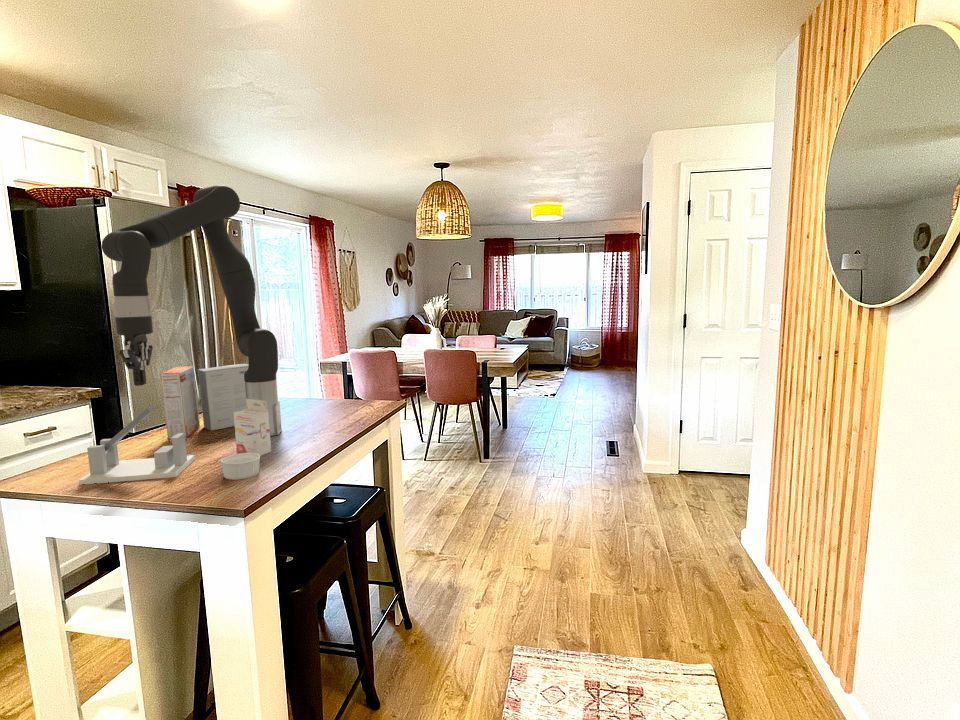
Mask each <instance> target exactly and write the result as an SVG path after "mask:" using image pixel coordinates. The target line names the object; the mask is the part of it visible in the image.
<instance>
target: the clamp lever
mask: <svg viewBox="0 0 960 720" xmlns="http://www.w3.org/2000/svg"><path fill="white" fill-rule="evenodd" d="M156 409H157V408H156V406H154V405H152V404H151V406H148V407H146V408H145V409H144V410H143V411H142V412H141V413H139V414H138V415H137V416H136V417H135V418H134V419H133V420H131V421H130V422H128V424H127V425H126V426H124V427H123V428H122V429H121V430H119V432H118V433H116V434H115V435H114V436H113V437H112V438H110V439H111V440H110V441H109V442H107V443H106V444H105V445H104V446H105V454H107V453H109V452H110V451H111V448H112V447H113V446H114V445H115V444H116V443H117V444H118V443H119V442H120V441H121V440H122V439H124V438H125V437H126V436H127V435H129V433H130V432H132V431H133V430H134V429H135V428H136V427H137V426H138V425H139V424H140V423H141V422H143V421H144V420H146V418H147V417H149V416H150V415H151V414H152V413H154V411H155V410H156Z"/></svg>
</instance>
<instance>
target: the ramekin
mask: <svg viewBox="0 0 960 720" xmlns="http://www.w3.org/2000/svg"><path fill="white" fill-rule="evenodd" d="M260 460H261V456H260V455H259V454H257V453H234V454H231V455H228V456H225V457H222V459H220V464H221V467H222V472H223V473H222V474H223V477H224V478H225V479H227V480H231V481H232V480H233V481H235V480H236V481H237V480H245V479H249V478H252V477H254V476H256V475H258V474H259V472H260Z"/></svg>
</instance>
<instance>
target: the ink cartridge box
mask: <svg viewBox="0 0 960 720" xmlns="http://www.w3.org/2000/svg"><path fill="white" fill-rule="evenodd" d="M253 403H254V404H255V403H257V404H260V406H254V405H253ZM246 404H247V409H246V410H242V411H238V412H234V424H235V426H234V434H235V446H236V447H235V448H236V454H239V453H257V454H259V455H260V457H261V456H264V455H266V454H269V453H271V452H272V444H271V436H270V428H269V415H268V409H267V402H266V401H261V400H253V399H246Z"/></svg>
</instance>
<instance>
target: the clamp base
mask: <svg viewBox="0 0 960 720" xmlns="http://www.w3.org/2000/svg"><path fill="white" fill-rule="evenodd" d="M111 439H112V438H102V439H101V440H100V441H99V444H100V445H89V446H88V447H87V448H86V450H87V458H88V464H89V465H88V466H89V473H87V474H86V475H84V476H83V477H81V478H80V479H78V485H79V486H82V484H85V485H95V484H94V483H97V484H106V483H107V484H108V482H109V483H117V482H130V481H143V480H144V481H145V480H157V479H168V478H177V477H178V476H179V475H180V474H181V473H182V472H183V471H184V470H185V469H187V467H189V465H191V464H192V463H193V462H194V461H195V460H196V455H195V454H192V455H191V454H189V455H188V454H187V445H186V444H187V443H186V438H185V433H178V434H177V435H174V436H172V437H171V438H170V440H169V441H170V443H171V444H172V445H163V446H161V447H160V448H158V449H157V450H155V452H153V457H149V458H136V459H135V458H134V459H124V460H123V459H122V460H120V459H119V451H118V442H117V443H116V444H115V445H114V446H113V447H112V448H111V451H110V452H109V453H107V454H105V446H104V445H105V444H106V443H107V442H109V441H110V440H111Z"/></svg>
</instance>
